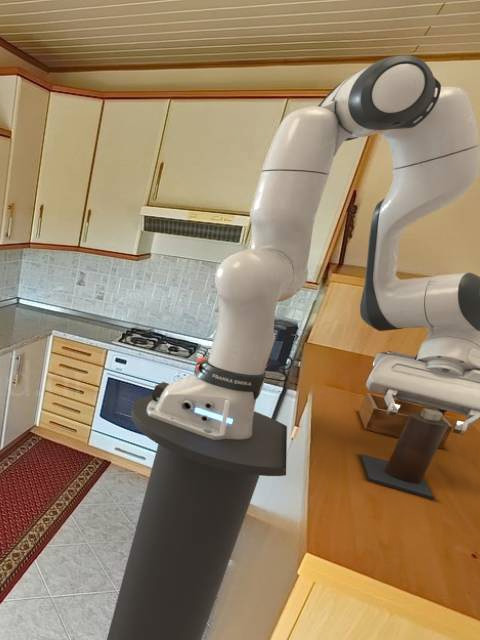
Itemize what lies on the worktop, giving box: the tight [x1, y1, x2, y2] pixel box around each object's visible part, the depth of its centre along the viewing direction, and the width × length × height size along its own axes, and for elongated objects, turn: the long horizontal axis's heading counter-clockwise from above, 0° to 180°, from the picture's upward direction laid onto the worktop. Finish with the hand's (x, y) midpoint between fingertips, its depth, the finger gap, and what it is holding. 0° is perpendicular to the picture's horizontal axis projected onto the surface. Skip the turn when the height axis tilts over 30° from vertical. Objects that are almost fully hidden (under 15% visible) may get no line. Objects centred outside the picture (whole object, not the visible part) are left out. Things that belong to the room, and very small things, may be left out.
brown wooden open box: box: [358, 392, 454, 450], centre depth 113 cm, size 14×14×5 cm
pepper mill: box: [385, 409, 449, 483], centre depth 87 cm, size 5×5×13 cm
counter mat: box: [360, 453, 435, 500], centre depth 90 cm, size 9×12×1 cm
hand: (423, 422), depth 89 cm, fingers open, 8 cm apart
